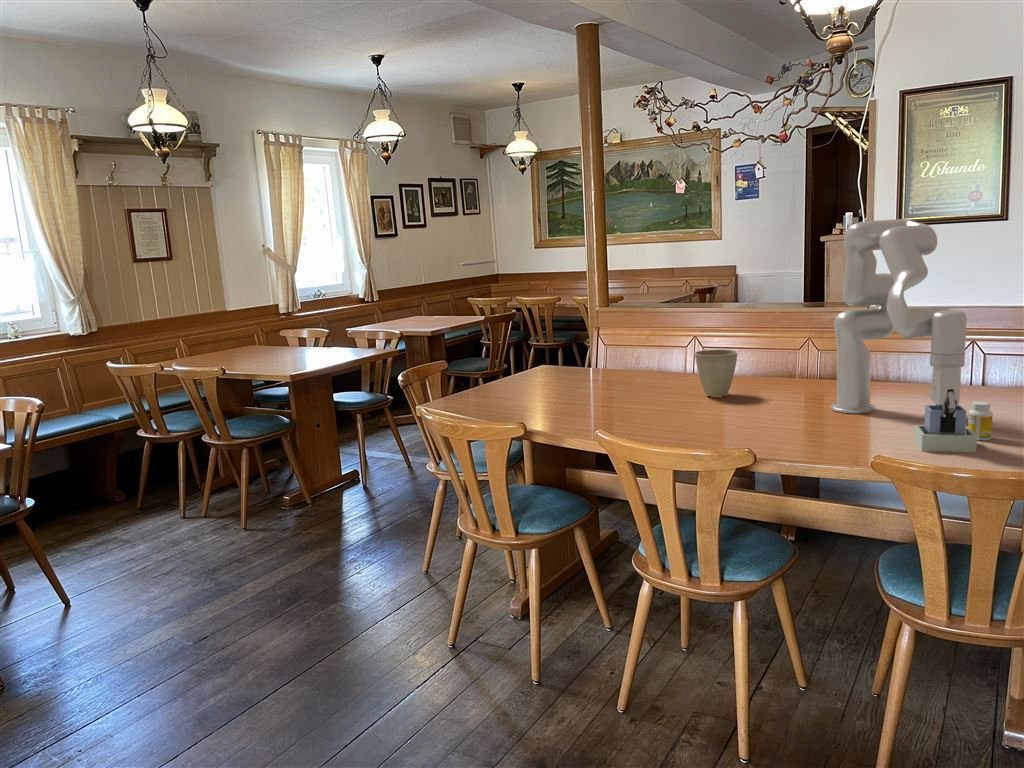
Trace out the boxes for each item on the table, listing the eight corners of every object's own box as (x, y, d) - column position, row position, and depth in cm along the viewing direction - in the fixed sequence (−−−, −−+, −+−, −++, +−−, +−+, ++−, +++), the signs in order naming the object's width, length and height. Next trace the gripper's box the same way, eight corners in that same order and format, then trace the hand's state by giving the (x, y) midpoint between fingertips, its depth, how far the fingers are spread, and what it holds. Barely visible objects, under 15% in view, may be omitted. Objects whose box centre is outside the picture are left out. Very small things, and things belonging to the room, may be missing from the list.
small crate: (924, 427, 194) (925, 405, 193) (959, 427, 192) (960, 405, 190) (929, 433, 188) (930, 410, 187) (965, 434, 186) (966, 410, 185)
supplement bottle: (965, 439, 195) (966, 403, 194) (969, 434, 199) (971, 399, 197) (988, 441, 192) (990, 405, 190) (993, 437, 195) (995, 401, 194)
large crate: (914, 441, 197) (914, 425, 197) (965, 442, 194) (966, 425, 193) (921, 452, 188) (922, 435, 187) (975, 453, 184) (976, 436, 183)
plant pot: (743, 398, 260) (742, 353, 258) (700, 401, 261) (699, 356, 258) (731, 390, 275) (731, 347, 272) (691, 392, 276) (690, 350, 273)
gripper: (923, 354, 196) (921, 420, 199) (937, 365, 180) (935, 437, 183) (956, 354, 193) (953, 420, 197) (973, 365, 177) (969, 437, 181)
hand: (944, 428), depth 190 cm, fingers closed on small crate, 6 cm apart
